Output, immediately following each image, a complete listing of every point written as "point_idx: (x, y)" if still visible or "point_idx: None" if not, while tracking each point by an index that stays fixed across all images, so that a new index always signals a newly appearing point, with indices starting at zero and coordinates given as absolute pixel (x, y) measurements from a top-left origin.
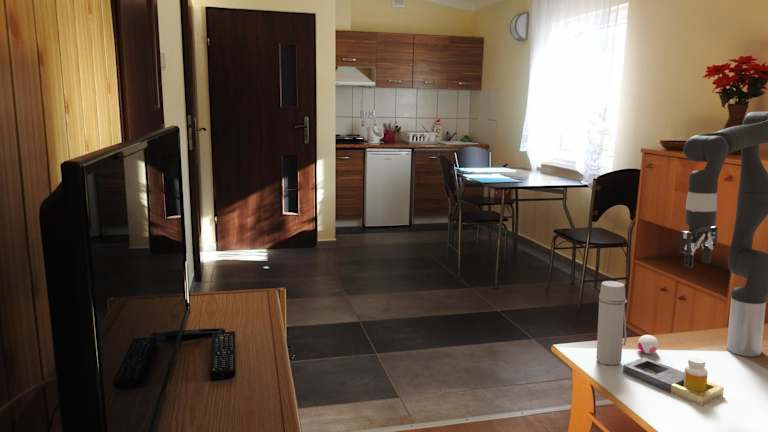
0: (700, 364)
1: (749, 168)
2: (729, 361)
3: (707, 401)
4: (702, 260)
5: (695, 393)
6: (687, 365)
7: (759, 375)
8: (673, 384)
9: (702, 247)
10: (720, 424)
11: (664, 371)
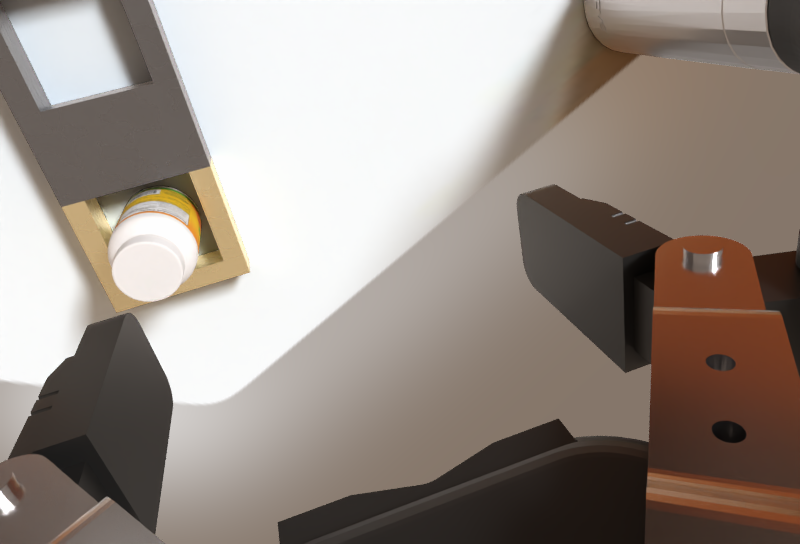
0: (140, 299)
1: None
2: (505, 46)
3: None
4: (526, 211)
5: (112, 283)
6: (127, 232)
7: (490, 174)
8: (72, 207)
9: (656, 266)
10: None
11: (114, 94)
